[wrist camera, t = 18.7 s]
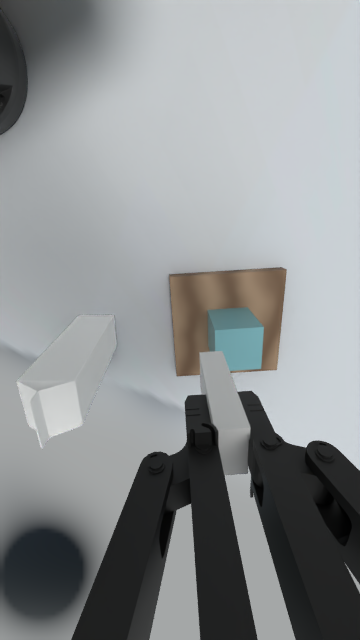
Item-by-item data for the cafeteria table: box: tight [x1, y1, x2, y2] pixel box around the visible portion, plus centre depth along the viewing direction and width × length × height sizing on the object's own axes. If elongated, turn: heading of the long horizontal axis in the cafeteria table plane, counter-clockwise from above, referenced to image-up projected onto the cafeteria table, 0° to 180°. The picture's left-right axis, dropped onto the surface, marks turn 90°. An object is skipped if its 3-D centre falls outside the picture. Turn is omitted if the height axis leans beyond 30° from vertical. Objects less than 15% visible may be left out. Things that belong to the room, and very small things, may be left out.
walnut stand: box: [169, 267, 287, 376], centre depth 41 cm, size 18×18×8 cm
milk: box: [17, 315, 117, 448], centre depth 34 cm, size 6×6×22 cm
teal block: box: [207, 307, 264, 371], centre depth 39 cm, size 6×6×8 cm
